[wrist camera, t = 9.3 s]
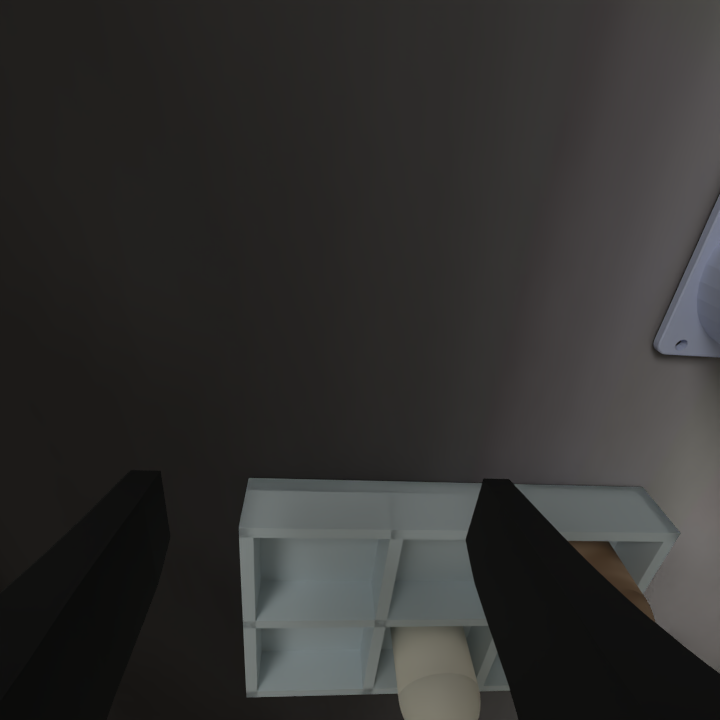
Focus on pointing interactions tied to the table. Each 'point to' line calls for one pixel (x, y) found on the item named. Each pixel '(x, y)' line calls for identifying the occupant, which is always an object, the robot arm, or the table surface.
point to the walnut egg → (613, 571)
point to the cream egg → (435, 673)
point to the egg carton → (394, 572)
